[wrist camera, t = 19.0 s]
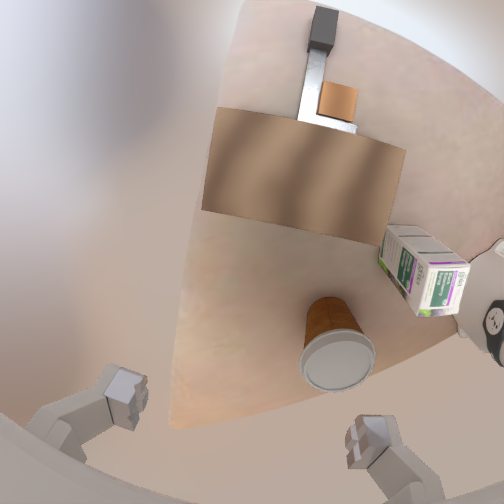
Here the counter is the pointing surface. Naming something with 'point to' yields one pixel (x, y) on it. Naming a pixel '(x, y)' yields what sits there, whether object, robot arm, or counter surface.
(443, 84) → the counter surface
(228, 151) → the walnut cubby
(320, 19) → the metal crook
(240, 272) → the counter surface
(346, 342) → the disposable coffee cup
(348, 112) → the orange block
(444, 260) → the syrup box
